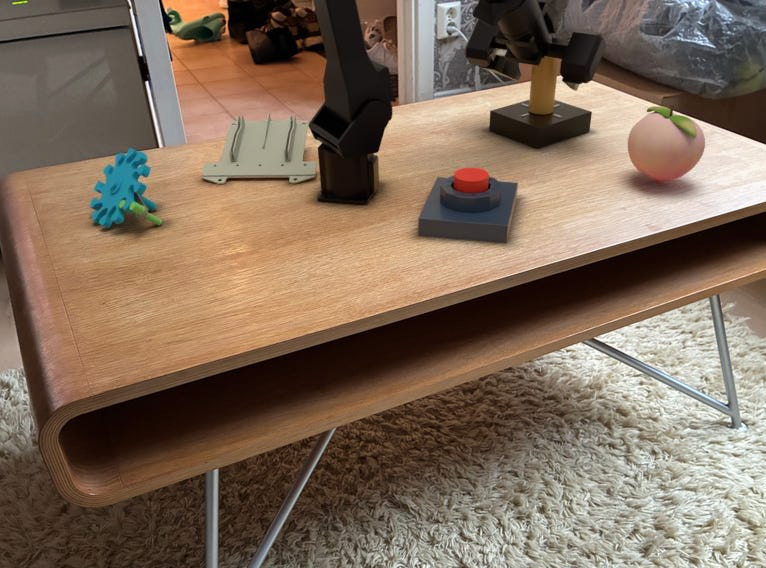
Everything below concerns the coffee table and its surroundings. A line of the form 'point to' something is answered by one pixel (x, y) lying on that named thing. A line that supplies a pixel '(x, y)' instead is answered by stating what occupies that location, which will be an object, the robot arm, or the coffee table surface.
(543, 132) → the dark brown square base
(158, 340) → the coffee table surface
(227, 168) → the metal bracket
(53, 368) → the coffee table surface
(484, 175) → the release button
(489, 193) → the block
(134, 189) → the gear
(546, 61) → the yellow cylinder
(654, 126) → the decorative fruit
